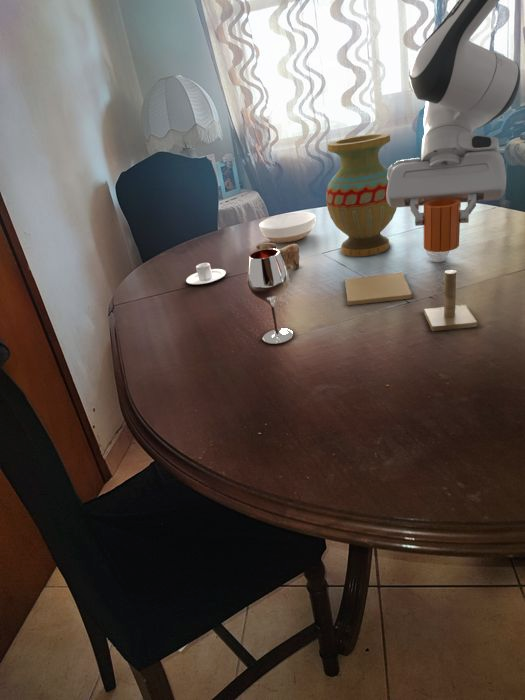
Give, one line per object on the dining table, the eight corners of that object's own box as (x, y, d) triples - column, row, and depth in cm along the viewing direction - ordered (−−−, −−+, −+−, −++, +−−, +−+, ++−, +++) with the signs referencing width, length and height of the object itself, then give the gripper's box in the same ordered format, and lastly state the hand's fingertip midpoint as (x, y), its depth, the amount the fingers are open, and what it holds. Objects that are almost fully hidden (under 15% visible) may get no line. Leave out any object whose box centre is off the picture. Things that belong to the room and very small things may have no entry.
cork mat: (402, 275, 114) (402, 272, 113) (412, 298, 102) (412, 294, 101) (345, 282, 116) (344, 278, 116) (348, 305, 104) (347, 301, 104)
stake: (465, 309, 93) (467, 261, 88) (476, 327, 86) (479, 276, 82) (424, 313, 95) (424, 267, 90) (432, 331, 88) (432, 282, 83)
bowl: (319, 226, 167) (317, 209, 164) (315, 242, 150) (313, 224, 147) (266, 233, 171) (264, 216, 168) (257, 249, 155) (254, 231, 152)
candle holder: (224, 268, 143) (221, 255, 141) (228, 280, 132) (225, 266, 130) (186, 276, 142) (182, 263, 140) (187, 289, 131) (183, 275, 129)
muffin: (452, 263, 116) (453, 235, 112) (426, 265, 117) (426, 238, 114) (448, 254, 121) (449, 228, 117) (424, 257, 122) (424, 231, 119)
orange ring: (454, 239, 88) (455, 196, 84) (462, 249, 82) (464, 204, 79) (421, 243, 89) (421, 201, 85) (427, 253, 83) (427, 209, 80)
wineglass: (269, 326, 101) (254, 247, 93) (303, 328, 98) (291, 246, 89) (252, 344, 95) (235, 261, 87) (288, 347, 92) (274, 261, 83)
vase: (356, 265, 125) (347, 147, 111) (319, 251, 142) (307, 146, 128) (415, 246, 131) (413, 131, 117) (372, 234, 148) (367, 132, 134)
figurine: (254, 282, 128) (248, 247, 123) (290, 262, 138) (285, 228, 133) (273, 284, 123) (267, 248, 119) (308, 263, 133) (304, 229, 128)
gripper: (386, 151, 87) (380, 217, 84) (508, 136, 79) (506, 209, 76) (390, 171, 93) (384, 234, 90) (505, 159, 85) (503, 228, 82)
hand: (441, 222), depth 83 cm, fingers closed on orange ring, 6 cm apart
